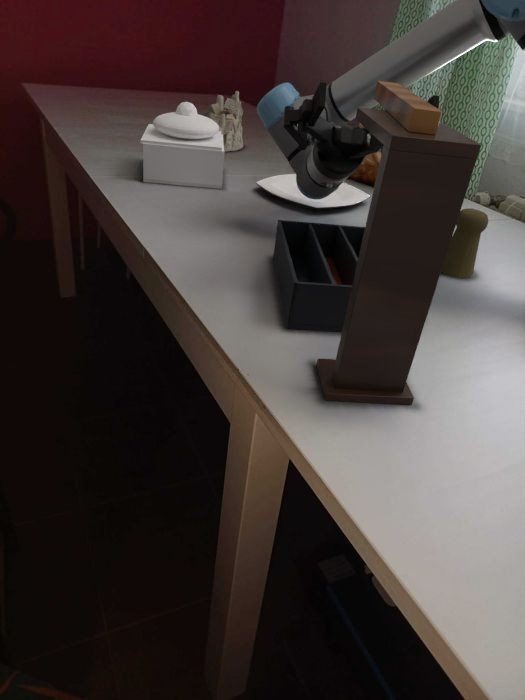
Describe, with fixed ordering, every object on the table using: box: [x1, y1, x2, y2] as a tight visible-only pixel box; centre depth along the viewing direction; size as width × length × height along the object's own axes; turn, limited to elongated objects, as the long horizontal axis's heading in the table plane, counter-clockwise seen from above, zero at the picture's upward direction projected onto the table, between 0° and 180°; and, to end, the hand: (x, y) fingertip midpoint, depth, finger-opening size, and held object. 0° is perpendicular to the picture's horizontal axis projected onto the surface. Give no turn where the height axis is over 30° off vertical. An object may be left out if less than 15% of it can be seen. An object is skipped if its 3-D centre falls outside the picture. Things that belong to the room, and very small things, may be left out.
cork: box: [441, 208, 489, 279], centre depth 93 cm, size 6×6×11 cm
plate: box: [255, 173, 371, 211], centre depth 123 cm, size 23×23×2 cm
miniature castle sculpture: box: [202, 90, 244, 153], centre depth 153 cm, size 16×16×15 cm
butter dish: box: [140, 101, 226, 190], centre depth 123 cm, size 18×18×16 cm
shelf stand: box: [316, 107, 482, 405], centre depth 59 cm, size 15×10×28 cm, turn 3°
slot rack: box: [272, 219, 365, 333], centre depth 81 cm, size 23×16×7 cm, turn 3°
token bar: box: [374, 81, 443, 135], centre depth 56 cm, size 20×2×2 cm, turn 179°
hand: (379, 100), depth 63 cm, fingers open, 13 cm apart
